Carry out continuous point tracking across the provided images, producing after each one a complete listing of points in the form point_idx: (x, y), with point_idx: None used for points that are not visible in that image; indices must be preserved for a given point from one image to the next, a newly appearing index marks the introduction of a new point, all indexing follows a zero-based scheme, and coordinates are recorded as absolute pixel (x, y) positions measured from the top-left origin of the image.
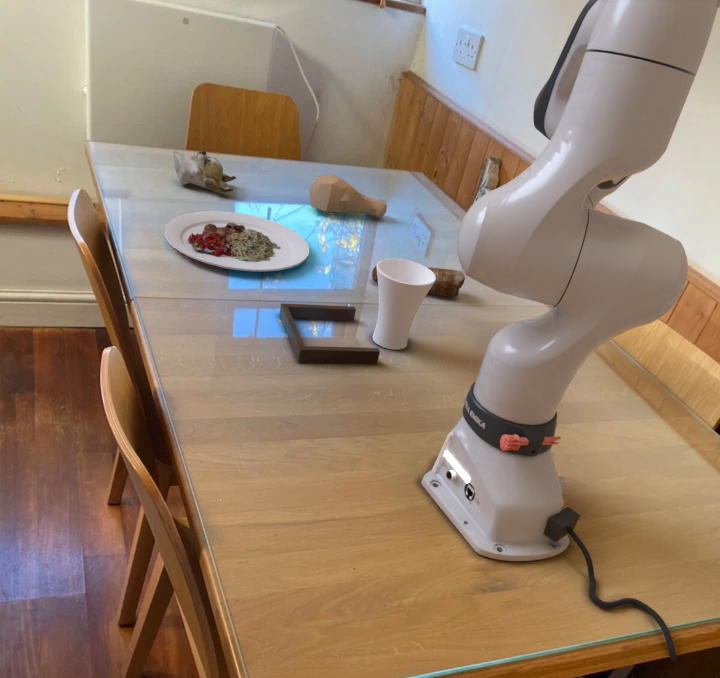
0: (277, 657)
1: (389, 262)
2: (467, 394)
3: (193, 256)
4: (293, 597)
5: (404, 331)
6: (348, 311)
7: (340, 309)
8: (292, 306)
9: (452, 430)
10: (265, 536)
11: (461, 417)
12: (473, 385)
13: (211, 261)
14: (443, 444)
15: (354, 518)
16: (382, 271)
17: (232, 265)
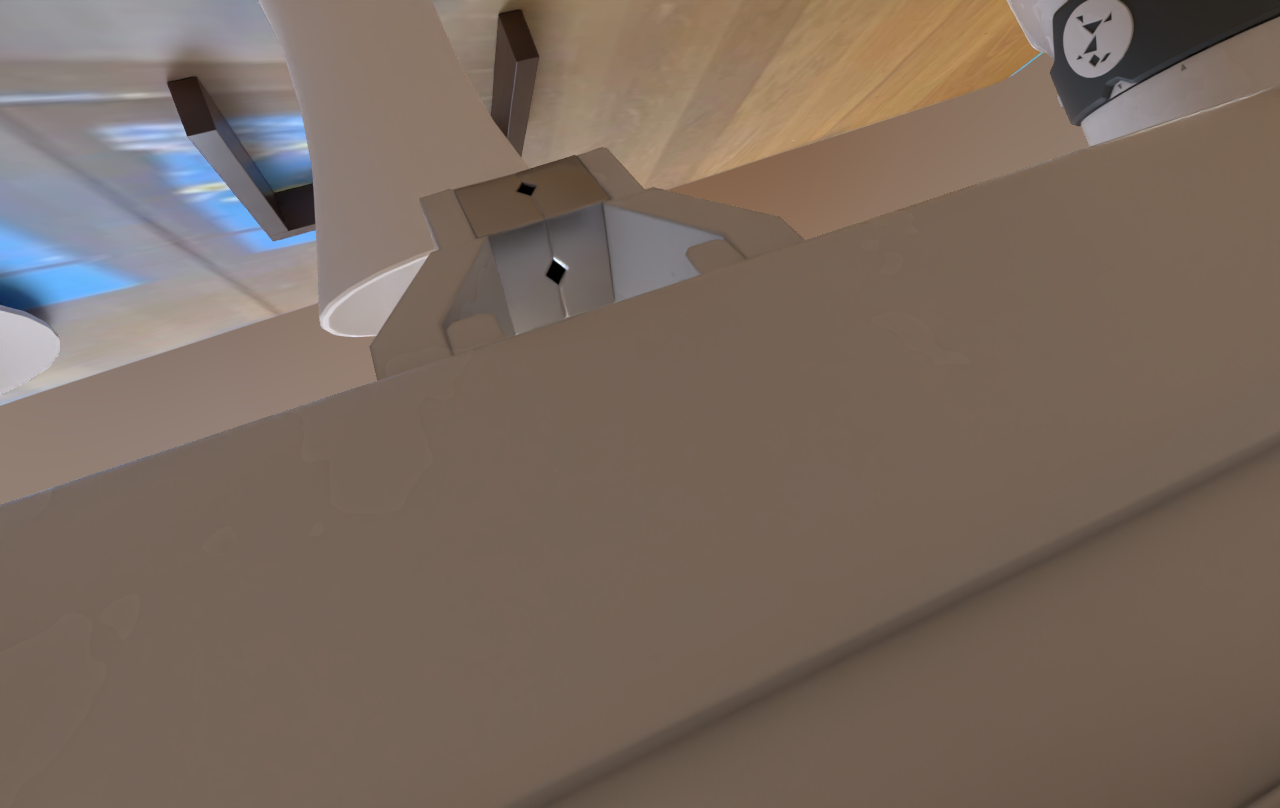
0: (987, 76)
1: (345, 319)
2: (1063, 107)
3: (45, 366)
4: (954, 75)
5: (439, 20)
6: (223, 135)
7: (236, 157)
8: (282, 226)
9: (1040, 50)
10: (870, 103)
11: (1048, 53)
12: (1077, 124)
13: (29, 350)
14: (1017, 20)
15: (929, 36)
16: (370, 291)
17: (3, 332)
